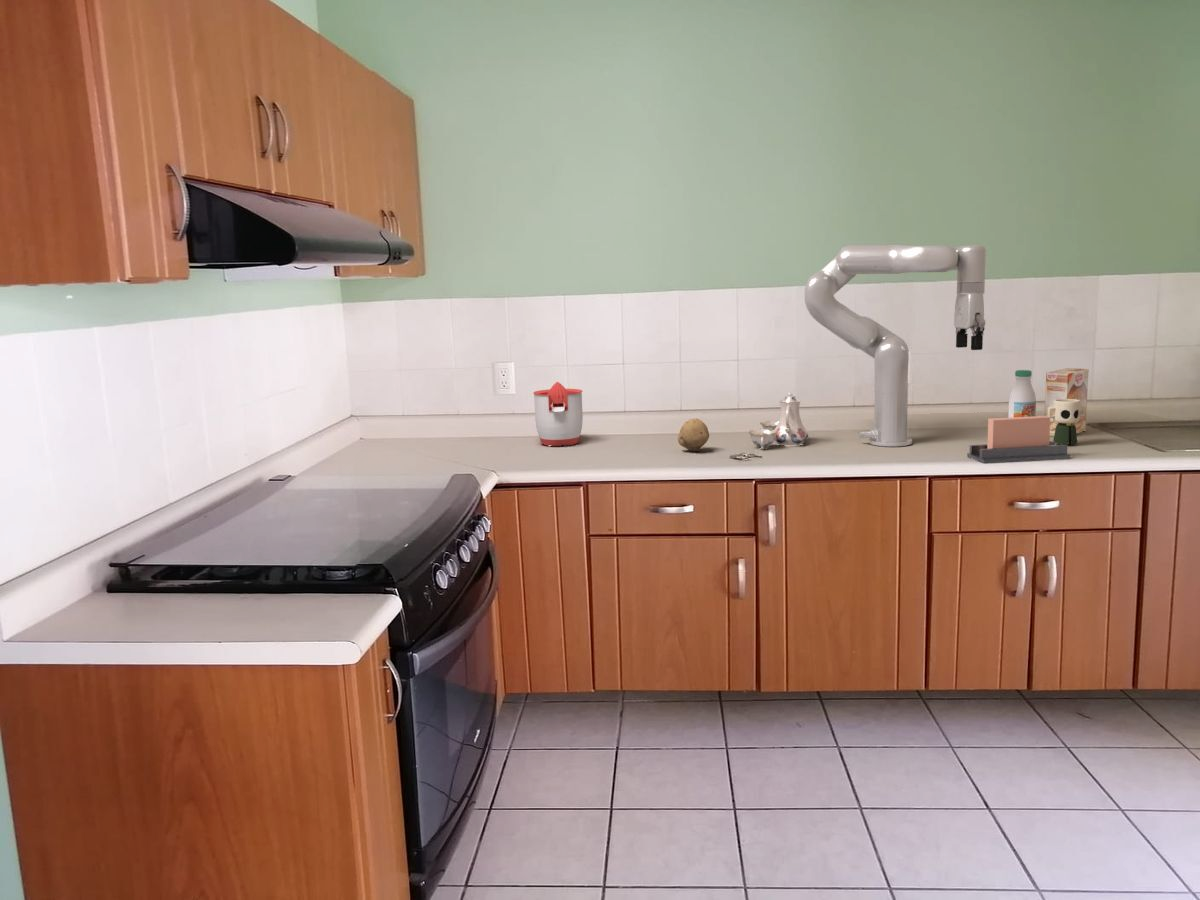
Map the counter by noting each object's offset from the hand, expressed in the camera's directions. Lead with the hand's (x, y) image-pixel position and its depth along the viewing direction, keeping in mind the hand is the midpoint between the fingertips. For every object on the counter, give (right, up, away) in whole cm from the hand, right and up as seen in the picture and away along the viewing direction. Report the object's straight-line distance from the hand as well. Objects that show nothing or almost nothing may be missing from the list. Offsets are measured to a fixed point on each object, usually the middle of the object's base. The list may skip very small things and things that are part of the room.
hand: (968, 348), depth 298 cm
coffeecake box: (+36, -25, +18) cm, 47 cm away
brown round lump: (-79, -30, +9) cm, 85 cm away
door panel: (+7, -31, -17) cm, 36 cm away
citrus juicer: (-120, -28, +30) cm, 127 cm away
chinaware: (-52, -28, +17) cm, 61 cm away
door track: (+7, -32, -17) cm, 37 cm away
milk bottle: (+22, -25, +17) cm, 37 cm away
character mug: (+28, -28, -1) cm, 39 cm away
